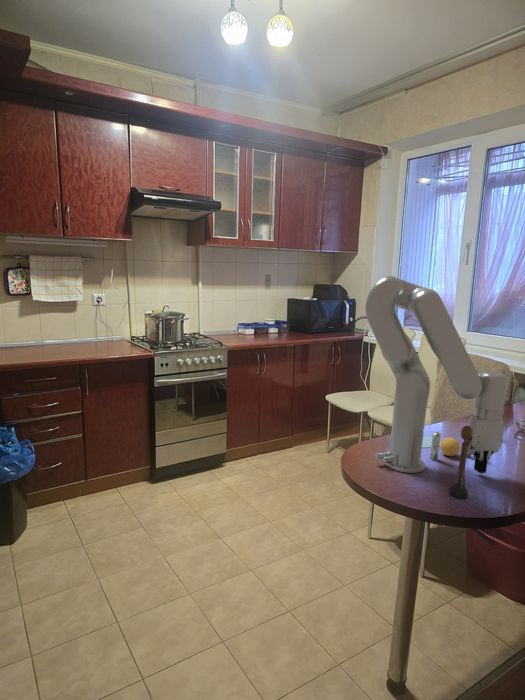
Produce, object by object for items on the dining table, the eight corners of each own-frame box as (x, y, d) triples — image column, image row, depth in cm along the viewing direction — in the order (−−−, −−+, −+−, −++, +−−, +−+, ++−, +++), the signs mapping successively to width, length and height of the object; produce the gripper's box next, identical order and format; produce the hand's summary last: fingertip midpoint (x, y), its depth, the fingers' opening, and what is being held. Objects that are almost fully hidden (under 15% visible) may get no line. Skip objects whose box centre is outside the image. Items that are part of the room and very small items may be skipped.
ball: (443, 460, 147) (451, 448, 143) (434, 446, 151) (441, 434, 148) (458, 458, 149) (466, 447, 145) (448, 444, 153) (456, 433, 150)
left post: (432, 460, 143) (436, 434, 142) (428, 457, 146) (431, 432, 144) (439, 460, 144) (442, 434, 142) (434, 457, 146) (437, 431, 145)
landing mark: (421, 448, 154) (421, 447, 154) (404, 437, 163) (404, 436, 163) (445, 446, 156) (445, 445, 156) (428, 435, 166) (428, 435, 166)
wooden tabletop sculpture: (454, 487, 126) (463, 420, 122) (471, 494, 123) (481, 425, 119) (446, 494, 121) (455, 425, 118) (463, 501, 118) (473, 430, 115)
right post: (466, 458, 147) (469, 432, 145) (461, 455, 149) (464, 429, 148) (472, 457, 148) (476, 432, 146) (467, 454, 150) (470, 429, 148)
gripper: (499, 408, 136) (490, 464, 140) (458, 410, 132) (450, 467, 136) (518, 416, 129) (509, 474, 132) (476, 418, 125) (467, 478, 128)
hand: (479, 471), depth 134 cm, fingers closed
